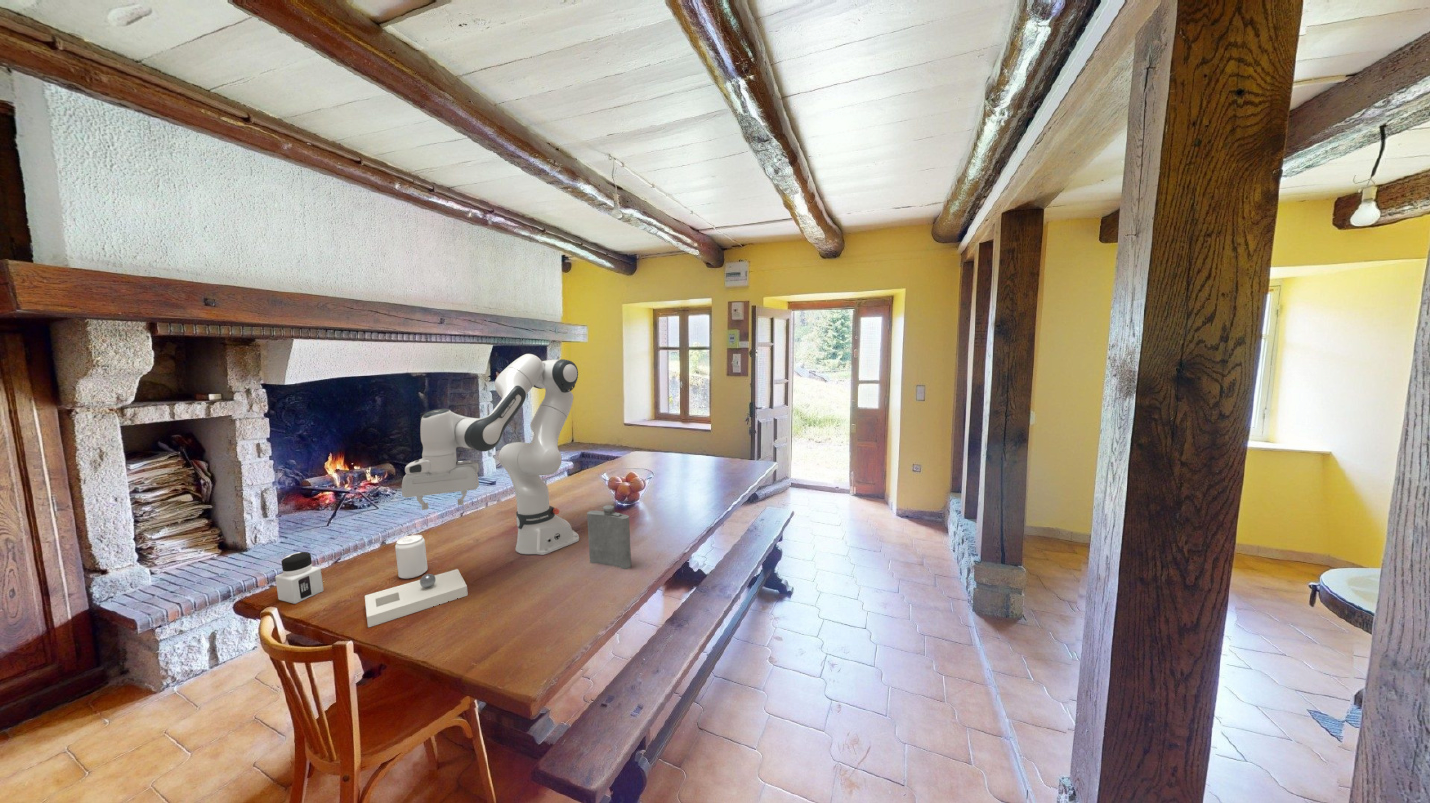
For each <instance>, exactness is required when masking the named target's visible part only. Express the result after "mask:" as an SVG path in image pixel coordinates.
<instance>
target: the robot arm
mask: <svg viewBox="0 0 1430 803" xmlns="http://www.w3.org/2000/svg"><path fill="white" fill-rule="evenodd" d="M578 369H579V368H578V367H577V365H576V363H574V362H573V361H571V360H570V359H565V358H564V359H548V360H541V358H539V357H538V356H537V355H536V354H532V353H525V354H523V355H521V356H519V357H517V358H516V359H515V360H514V361H512V362H511V363H510V364H508V365H507V367H505V368H504V369H503V370H502V371H501V372H500V373H499V374H498V375H497V377H496V379H495V380H494V388H495V391H496V393H497V394H498V395H499V397H500V398H501V400H500V401H499V402H498V403H497V405H496V406H495V407H494V408H493V410H492V411H491V412H490V413H489V414H488V415H486V416H484V417H480V418H477V417H469V416H465V415H461V414H457V413H455V412H453V411H451V409H448V408H439V409H433V410H430V411H428V412H425V413H424V414H423V415H422V417H421V418H420V419H421V420H420V442H421V444H422V447H423V448H422V453H421V457H422V458H420V459H417V460H414V461H411V462H409V463H408V464H406V466H405V467H404V472H405V475H404V476H403V478H402V480H401V481H402V482H401V496H402V497H404V498H416V501H417V503H419V504H420V506H421V510H422V511H425V510H426V511H427V510H429V502H425V501H424V500H423V498H424V496H430V495H431V496H432V495H433V496H434V495H442V494H449V493H450V494H451V493H457V492H458V493H459V492H460V493H461V498H457V506H463V505H464V503H465V502H464V501H465V500H464V499H465V498H466V496H467V493H468V491H473V490H474V491H475V490H477V489H478V488H479V486H480V480H479V475H478V473H479V472H480V464H479V463H478V462H477V461H476V460H473V459H469V460H458V459H457V448H465V449H472V450H476V451H478V452H489V451H491V450H492V449H494V448H496V446H498V445H499V442H500V441H501V439H502V436H503V434H504V432H505V430H506V428H507V426H508V425H509V424H510V422H511V421H512V420H513V418H514V417H515V416H516V415H517V413H518V412H519V410H520V409H521V408H522V406H523V404H524V403H525V401H526V398H527V394H528V393H529V392H530V390H531V389H533V388H535V389H540V390H542V389H545V392H544V393H545V395H544V397H543V400H542V401H541V403H540V404H539V406H538V408H537V409H536V411H535V413H534V416H533V418H532V419H531V422H530V429H531V431H532V433H533V437H532V440H531V442H521V441H516V442H510V443H507V444H505V445H504V446H502V448H501V449H500V451H499V454H498V461H499V464H500V466H502V468H503V469H504V470H505V471H506V473H507V474H508V476H509V478H510V481H511V483H512V485H513V488H514V491H515V499H516V500H515V501H516V512H515V514H516V518H515V519H516V526H517V540H516V545H515V549H514V550H515V552H516V553H518V554H521V555H538V556H539V555H541V556H543V555H544V556H545V555H547V554H550V553H551V552H552V553H553V552H555V551H557V550H559V549H562V548H565V547H567V546H570V545H573V544H575V543H578V542H579V540H580V536H579V534H578V533H577V532H576V531H575V530H573V529H572V525H571V524H570V522H569V521H567V520H566V519H565V518H562V517H560V516H558V515H559V513H560V510H559V509H558V508H555V507H554V506H551V505H550V495H549V493H550V492H549V488H548V485H547V483H545V482H544V481H543V479H542V477H541V476H549V475H554V474H556V473H557V472H558V470H559V469H560V467H561V465H562V461H563V460H562V454H561V452H560V450H559V446H558V445H559V438H560V434H561V432H562V430H563V428H564V426H565V423H566V421H567V419H568V417H569V414H570V412H571V409H572V405H573V402H574V394H573V392H572V391H573V390H574V388H575V387H576V383H577V382H578V378H579V377H578V376H579V370H578Z"/></svg>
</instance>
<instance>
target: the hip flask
mask: <svg viewBox="0 0 1430 803" xmlns="http://www.w3.org/2000/svg"><path fill="white" fill-rule="evenodd" d="M586 515H587V516H586V517H587V518H586V520H587V533H588V534H587V535H588V536H587V538H588V549H589V551H588V552H589V563H591V564H599V565H605V566H612V567H615V568H620V569H622V570H628V569H629V570H630V569H631V568H632V557H631V556H632V553H631V531H630V516H629V515H628V514H623V513H620V512H616V511H615V506H614V505H612V504H609V505H605V506H603V507H602V510H589V511H587V512H586Z"/></svg>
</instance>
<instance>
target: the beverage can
mask: <svg viewBox="0 0 1430 803" xmlns="http://www.w3.org/2000/svg"><path fill="white" fill-rule="evenodd" d="M394 549H395V558H396V565H397V566H396V568H397V572H398V573H397V574H398V575H397V576H398V578H400V579H414V578H417V577H420V576H421V575H422V576H423V574H424V573H426V572H427V571H428V560H427V558H428V557H427V551H426V550H427V549H426V540H425V538H424V537H423V535H422V534H412V535H408V536H404V537H401V538H400V539H398V540H397V541H396V544H395V546H394Z"/></svg>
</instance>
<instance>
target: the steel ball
mask: <svg viewBox="0 0 1430 803" xmlns="http://www.w3.org/2000/svg"><path fill="white" fill-rule="evenodd" d="M419 580H420V585H421V586H422V587H423V588H430V587H431V586H433V585H434V583H435V581H436V578H435V575H434V574H433V573H426V574H424V575H422V577H421V578H420V579H419Z"/></svg>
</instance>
